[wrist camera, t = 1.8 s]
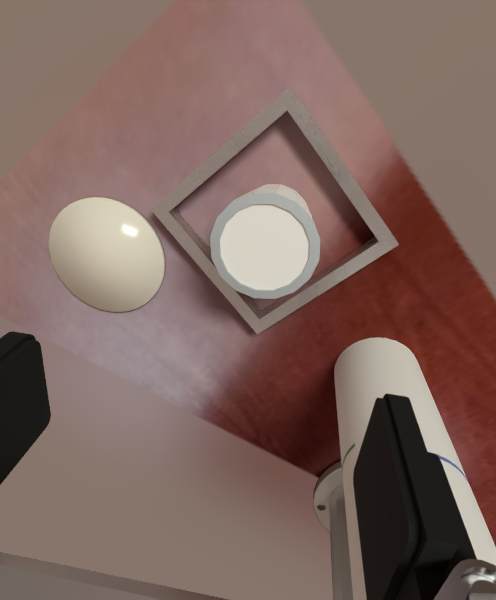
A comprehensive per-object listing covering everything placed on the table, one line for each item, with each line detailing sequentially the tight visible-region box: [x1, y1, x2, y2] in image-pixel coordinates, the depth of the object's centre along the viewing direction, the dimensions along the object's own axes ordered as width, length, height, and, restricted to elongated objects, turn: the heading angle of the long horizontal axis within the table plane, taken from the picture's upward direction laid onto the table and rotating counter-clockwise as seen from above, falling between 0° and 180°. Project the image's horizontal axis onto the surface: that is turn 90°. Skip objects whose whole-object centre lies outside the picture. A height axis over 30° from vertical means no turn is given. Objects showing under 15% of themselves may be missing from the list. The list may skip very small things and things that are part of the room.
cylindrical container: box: [334, 338, 496, 600], centre depth 25 cm, size 7×7×25 cm
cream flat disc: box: [49, 197, 165, 312], centre depth 34 cm, size 10×10×1 cm
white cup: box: [210, 184, 320, 299], centre depth 28 cm, size 7×7×7 cm
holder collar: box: [150, 86, 399, 334], centre depth 31 cm, size 13×13×2 cm
